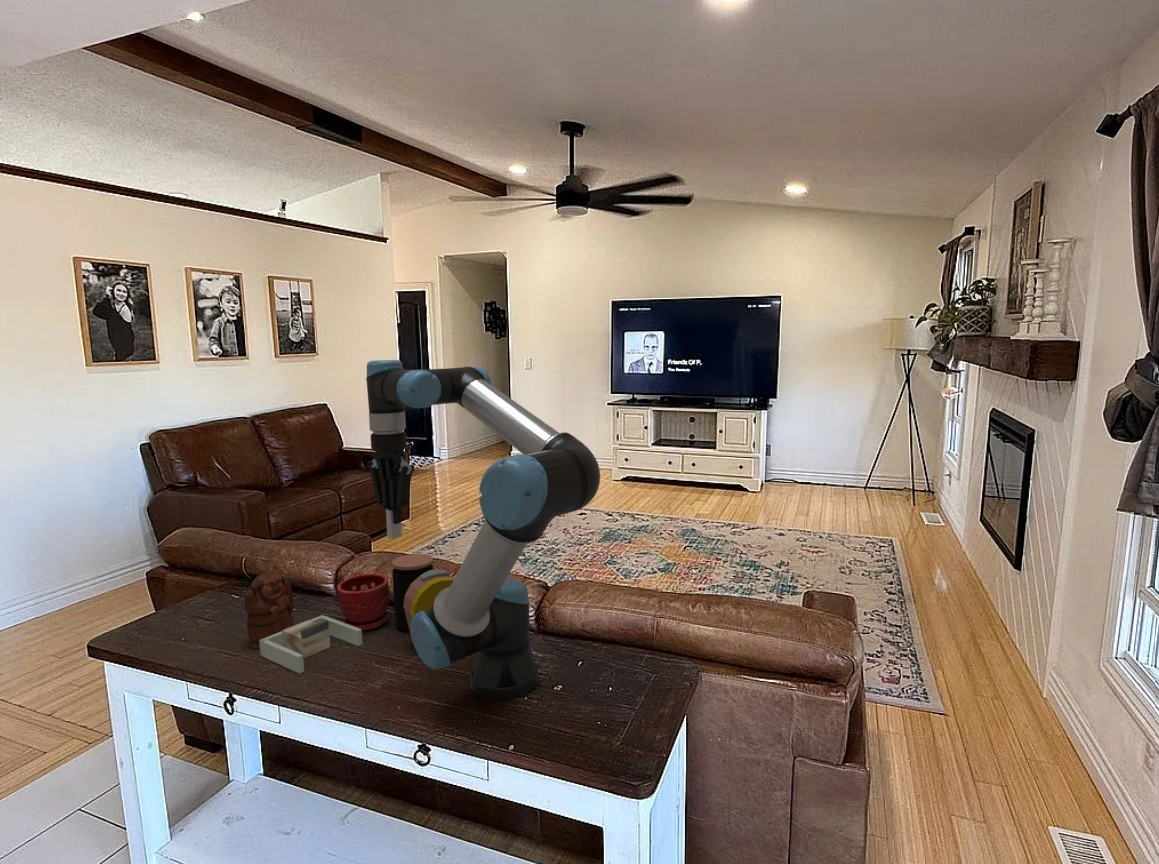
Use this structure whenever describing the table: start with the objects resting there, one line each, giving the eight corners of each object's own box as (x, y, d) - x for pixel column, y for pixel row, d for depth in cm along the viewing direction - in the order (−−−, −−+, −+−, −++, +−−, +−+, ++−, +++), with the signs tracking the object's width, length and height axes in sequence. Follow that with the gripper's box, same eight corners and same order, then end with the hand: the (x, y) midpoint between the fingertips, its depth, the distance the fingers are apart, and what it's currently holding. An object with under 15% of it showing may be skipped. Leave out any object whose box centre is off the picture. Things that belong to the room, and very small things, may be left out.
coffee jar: (426, 634, 170) (422, 567, 168) (388, 631, 173) (384, 565, 170) (442, 617, 181) (439, 554, 178) (406, 615, 183) (403, 552, 180)
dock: (362, 644, 166) (361, 629, 165) (299, 673, 151) (298, 657, 151) (323, 629, 175) (322, 615, 174) (260, 655, 161) (259, 640, 160)
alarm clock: (460, 628, 174) (457, 562, 171) (473, 640, 167) (470, 570, 164) (404, 643, 166) (400, 573, 163) (415, 656, 159) (411, 583, 156)
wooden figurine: (265, 652, 162) (259, 582, 160) (246, 648, 165) (239, 579, 162) (301, 632, 173) (295, 566, 171) (282, 628, 176) (276, 564, 173)
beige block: (330, 647, 165) (328, 620, 164) (305, 658, 159) (302, 631, 158) (309, 638, 170) (307, 612, 169) (283, 649, 164) (281, 622, 163)
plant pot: (351, 614, 185) (348, 573, 183) (397, 614, 184) (394, 572, 182) (331, 634, 172) (328, 590, 170) (381, 634, 171) (378, 590, 169)
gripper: (422, 431, 142) (427, 537, 145) (382, 427, 149) (388, 528, 153) (394, 435, 136) (401, 546, 139) (354, 431, 143) (361, 536, 146)
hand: (394, 536), depth 146 cm, fingers closed
